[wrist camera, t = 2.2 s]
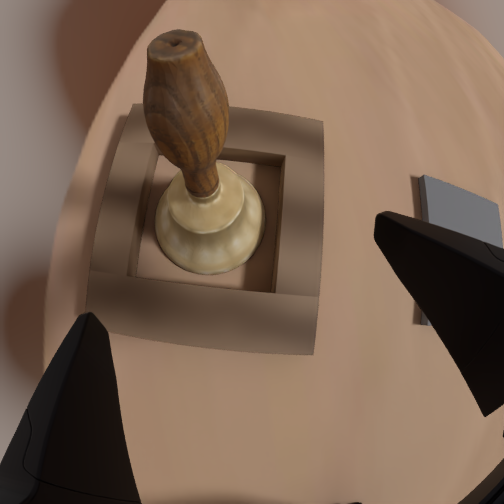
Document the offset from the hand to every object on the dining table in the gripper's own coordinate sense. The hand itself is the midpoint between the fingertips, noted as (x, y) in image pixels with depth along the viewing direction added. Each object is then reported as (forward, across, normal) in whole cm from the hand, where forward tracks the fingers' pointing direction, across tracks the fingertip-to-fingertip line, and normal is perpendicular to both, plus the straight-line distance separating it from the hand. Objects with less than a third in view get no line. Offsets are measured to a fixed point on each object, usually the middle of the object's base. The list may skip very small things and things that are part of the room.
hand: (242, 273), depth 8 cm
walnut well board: (+12, 0, +5) cm, 13 cm away
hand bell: (+12, 0, +5) cm, 14 cm away
